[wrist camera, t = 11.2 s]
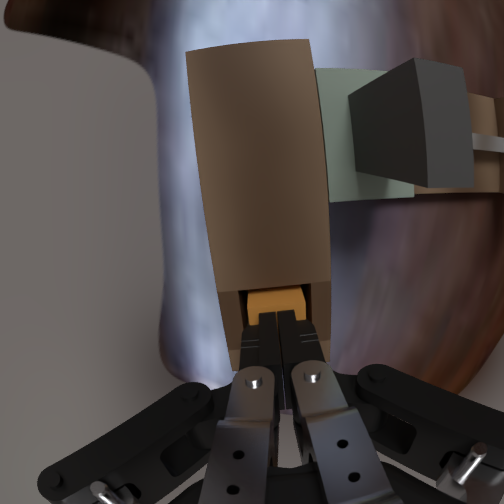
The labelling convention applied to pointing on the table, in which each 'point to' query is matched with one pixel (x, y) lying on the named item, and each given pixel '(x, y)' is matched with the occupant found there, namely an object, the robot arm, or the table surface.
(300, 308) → the button
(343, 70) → the sliding handle
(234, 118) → the brown mechanism housing
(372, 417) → the robot arm
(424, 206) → the table surface
